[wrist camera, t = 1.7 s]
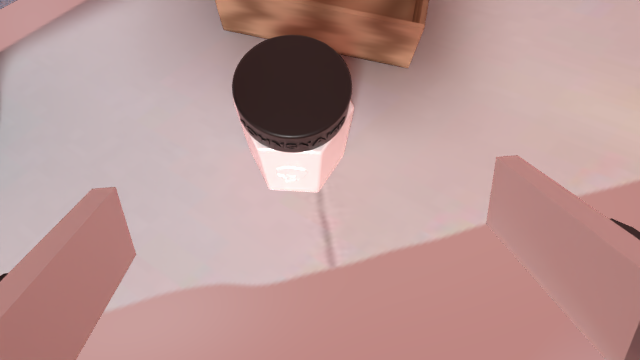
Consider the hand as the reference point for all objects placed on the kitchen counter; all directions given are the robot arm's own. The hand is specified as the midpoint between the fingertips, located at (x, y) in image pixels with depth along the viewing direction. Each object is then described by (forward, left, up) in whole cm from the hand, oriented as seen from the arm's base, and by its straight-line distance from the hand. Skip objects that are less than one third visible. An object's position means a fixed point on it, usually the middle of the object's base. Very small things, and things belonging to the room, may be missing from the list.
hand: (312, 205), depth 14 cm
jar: (-4, +11, -22) cm, 24 cm away
